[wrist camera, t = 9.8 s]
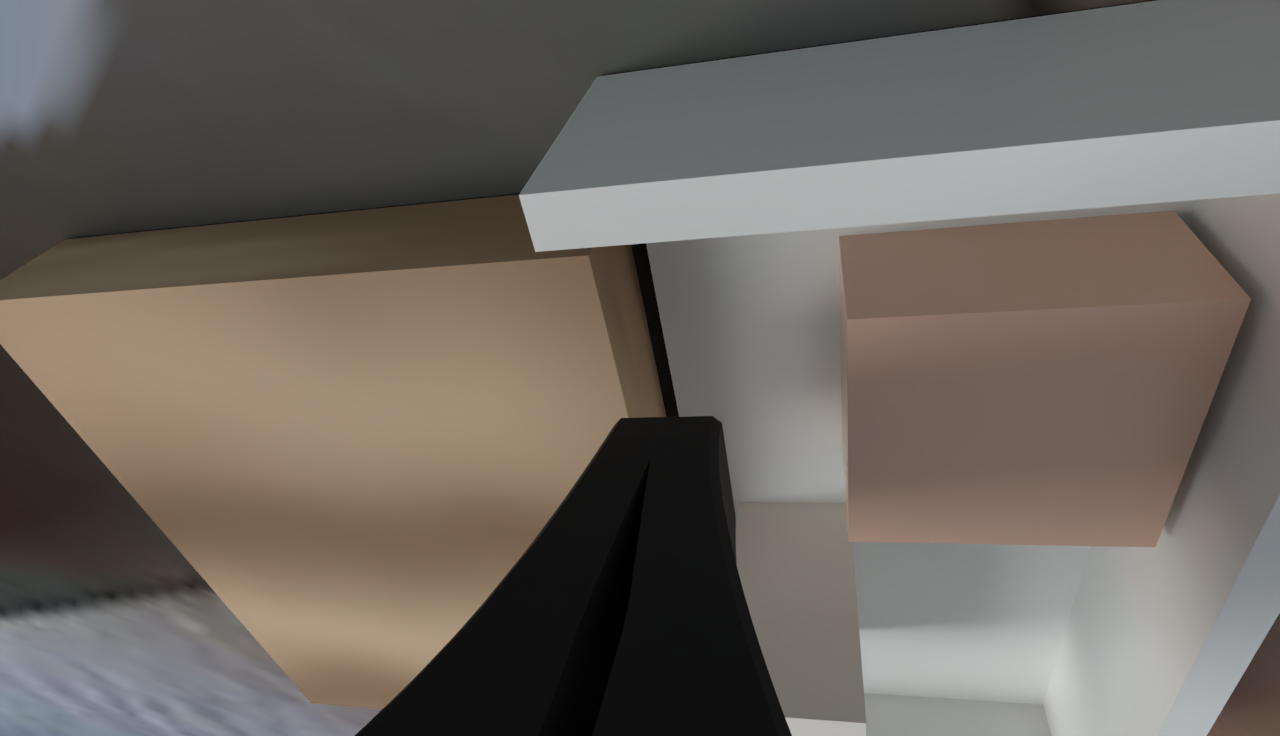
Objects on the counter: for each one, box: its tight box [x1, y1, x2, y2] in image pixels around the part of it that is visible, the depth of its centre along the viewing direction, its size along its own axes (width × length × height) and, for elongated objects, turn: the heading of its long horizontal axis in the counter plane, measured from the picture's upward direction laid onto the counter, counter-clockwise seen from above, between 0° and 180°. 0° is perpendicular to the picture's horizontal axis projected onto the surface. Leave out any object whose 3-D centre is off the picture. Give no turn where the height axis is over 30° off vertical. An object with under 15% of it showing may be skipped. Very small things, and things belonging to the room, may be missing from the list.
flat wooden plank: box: [0, 195, 667, 709], centre depth 14 cm, size 12×10×2 cm
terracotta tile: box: [839, 210, 1251, 547], centre depth 10 cm, size 4×4×2 cm
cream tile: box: [736, 503, 866, 736], centre depth 13 cm, size 4×4×2 cm
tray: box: [519, 0, 1280, 736], centre depth 12 cm, size 15×8×4 cm, turn 10°
